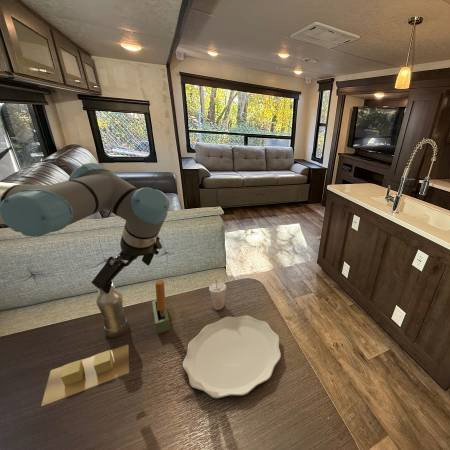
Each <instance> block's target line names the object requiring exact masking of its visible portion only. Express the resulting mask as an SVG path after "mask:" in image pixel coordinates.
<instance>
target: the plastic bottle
mask: <svg viewBox="0 0 450 450" xmlns="http://www.w3.org/2000/svg"><path fill="white" fill-rule="evenodd" d="M98 293H99V294H98V295H97V298H96V301H95V303H96V306H97V308H98V309H99V311H100V314H101V316H102V320H103V331H104V332H103V333H104V335H105V336H106V337H107V338H109V339H114V338H118V337H121V336H123V335H124V334H126V333H127V332H128V331H129V328H130V322H129V321H128V319H127V317H126V314H125V312H124V311H125V310H124V305H123V302H124V301H123V294H122V293H121V292H120V291H119V290H117V289H116V286H115V285H114V283H113V281H112V285H111V289H110V292H109V293H108V294H106V293H105V292H104V291H103V290H101V289H98Z"/></svg>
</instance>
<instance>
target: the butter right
mask: <svg viewBox="0 0 450 450" xmlns="http://www.w3.org/2000/svg"><path fill="white" fill-rule="evenodd" d="M111 350H112V349H109V350H105V351H102V352H99V353H96V354H94V356H95V358H94V369H95V372H96V374H100V373H102V372H105V371H108V370H111V369H112V368H113V357H112V353H111Z"/></svg>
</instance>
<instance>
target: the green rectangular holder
mask: <svg viewBox="0 0 450 450" xmlns="http://www.w3.org/2000/svg"><path fill="white" fill-rule="evenodd" d="M151 304H152V311H153V319H154V325H155V330H156V334H157V335H159V334H163V333H165V332H168V331H170V330H171V324H170V319H169V315H168V310H167V309H168V308H167V305H166V303H165V307H166V308H165V310H163V311H164V317H165V319H163V320H160V319H159V315H158V314H159V313H158V312H159V311H158V310H157V300H156V299H154V300H151Z"/></svg>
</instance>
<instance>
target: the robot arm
mask: <svg viewBox="0 0 450 450" xmlns="http://www.w3.org/2000/svg"><path fill="white" fill-rule="evenodd" d="M169 209H170V199H169V198H168V196H167V195H166V194H165V193H164V192H163V191H161V190H159V189H154V188H152V187H140V188H139V189H138V188H137V187H136V186H134V185H132V184H131V183H130V182H128V181H126V180H124V179H123V178H121V177H120V176H118V175H117V174H115V173H114V172H113V171H111V170H110V169H107V168H105V167H103V166H101V165H99V164H97V163H94V162H87V163H83V164H81V166H78V167H76V168H75V169H73V171H72V172H71V174H70V175H69V177H68V180H64V181H61V182H56V183H52V184H42V185H41V184H28V183H18V182H17V183H16V182H2V181H0V225H6V226H7V227H9V229H11V230H12V231H14V232H16V233H20V234H22V235H23V236H26V237H31V238H32V237H33V238H34V237H35V238H36V237H42V236H46V235H48V234H50V233H55V232H59V231H61V230H63V229H65V228H67V227H68V226H70V225H72V224H74V223H77V222H79V221H81V220H83V219H86V218H88V217H90V216H92V215H94V214H97V213H100V212H101V211H103V210H107V211H109V212H110V213H112V214H113V215H115V216H117V217H119V218H121V219H123V220H125V223H124V226H123V230H122V234H121V238H120V242H119V247H120V250H121V251H120V252H119V253H118V255H117V256H116V257H114V256H113V255H111V256H110V257H108V258H107V260H106V262H105V264H104V265H103V266H102V268H101V269H100V270H99V272H98V273H97V274H96V276H95V277H94V278H93V279H92V281H91V282H90V283H91V284H92V285H93V286H95V287H96V288H97V289H98V290H99V289H101V290H103V291H104V292H105V293H106V294H108V293H109V292H110V289H111V285H112V282H113V280H114V279H115V278H116V276H118V274H119V273H121V271H122V270H124V269H125V267H128V266H130V265H131V264H132V263H133V262H134V261H135V260H137V259H138V258H139V257H142V258H141V262H143V263H144V265H146V266H147V267H148V266H150V265H151V263H152V261H153V258H154V256H157V255H159V254H160V252H159V251H158V250H161V249H163V245H162V243H161V242H160V239H161V237H160V236H159V233H160V232H161V229H162V227H163V224H164V222H165V220H166V219H167V217H168V212H169Z"/></svg>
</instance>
